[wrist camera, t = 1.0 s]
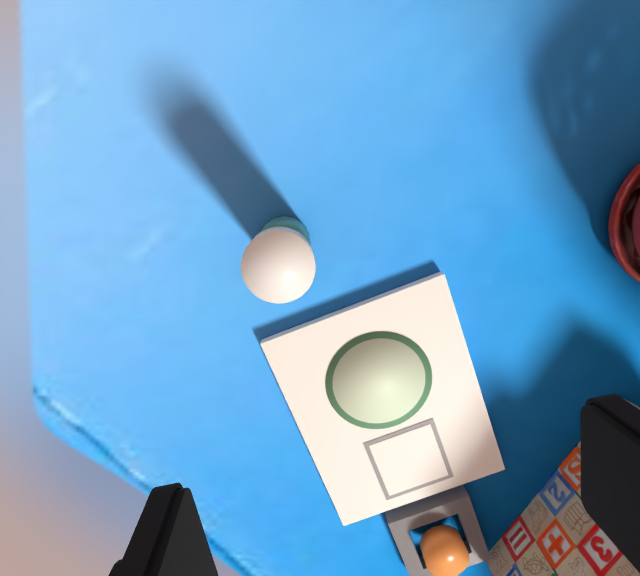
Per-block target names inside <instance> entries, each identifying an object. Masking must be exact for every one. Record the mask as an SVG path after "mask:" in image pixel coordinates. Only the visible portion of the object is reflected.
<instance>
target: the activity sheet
mask: <svg viewBox="0 0 640 576" xmlns="http://www.w3.org/2000/svg"><path fill="white" fill-rule="evenodd" d="M260 345H261V347H262V349H263V351H264V353H265V355H266V358H267V360H268V362H269V364H270V366H271V368H272V371H273V373H274V375H275V377H276V379H277V382H278V384H279V386H280V388H281V390H282V392H283V395H284V397H285V399H286V401H287V403H288V406H289V408H290V410H291V412H292V414H293V416H294V419H295V421H296V423H297V425H298V427H299V430H300V432H301V434H302V436H303V438H304V440H305V443H306V445H307V447H308V449H309V451H310V453H311V456H312V458H313V460H314V462H315V464H316V467H317V469H318V471H319V473H320V475H321V477H322V480H323V482H324V484H325V486H326V488H327V491H328V493H329V495H330V497H331V499H332V501H333V504H334V506H335V508H336V510H337V512H338V514H339V517H340V519H341V521H342V523H343V525H344V526H345V525H348V524H351V523H354V522H357V521H360V520H362V519H365V518H368V517H371V516H374V515H377V514H380V513H382V512H385V511H388V510H391V509H394V508H397V507H400V506H402V505H405V504H408V503H411V502H414V501H417V500H420V499H422V498H425V497H428V496H431V495H434V494H437V493H439V492H442V491H445V490H448V489H451V488H454V487H457V486H459V485H462V484H465V483H468V482H471V481H474V480H477V479H479V478H482V477H485V476H488V475H491V474H494V473H497V472H499V471H502V470H505V467H504V464H503V461H502V457H501V454H500V451H499V448H498V445H497V441H496V438H495V435H494V432H493V428H492V425H491V422H490V419H489V416H488V412H487V409H486V406H485V403H484V400H483V396H482V393H481V390H480V387H479V383H478V380H477V377H476V374H475V371H474V367H473V364H472V361H471V358H470V355H469V351H468V348H467V345H466V342H465V338H464V335H463V332H462V329H461V326H460V322H459V319H458V316H457V313H456V310H455V306H454V303H453V300H452V297H451V294H450V290H449V287H448V284H447V281H446V277H445V274H444V273H442V272H441V271H440V272H437V273H435V274H432V275H429V276H427V277H424V278H421V279H419V280H416V281H414V282H411V283H408V284H406V285H403V286H400V287H398V288H395V289H393V290H390V291H387V292H385V293H382V294H379V295H377V296H374V297H371V298H369V299H366V300H364V301H361V302H358V303H356V304H353V305H350V306H348V307H345V308H343V309H340V310H337V311H335V312H332V313H329V314H327V315H324V316H321V317H319V318H316V319H314V320H311V321H308V322H306V323H303V324H300V325H298V326H295V327H293V328H290V329H287V330H285V331H282V332H279V333H277V334H274V335H271V336H269V337H266V338H264V339H261V343H260Z"/></svg>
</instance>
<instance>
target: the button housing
mask: <svg viewBox="0 0 640 576" xmlns="http://www.w3.org/2000/svg"><path fill="white" fill-rule="evenodd" d="M456 514H457V515H458V518H459V521H460V523H461V526H462V529H463V532H464V534H465V537H466V540H464V541H463V542H464V544H465V547H466V549H467V551H468V553H469V563H468V565H467V567H469V566H472V565H475V564H478V563H481V562H484V561H487V560H490V559H491V557H490V555H489V552H488V549H487V546H486V543H485V540H484V537H483V534H482V532H481V529H480V526H479V523H478V520H477V517H476V514H475V511H474V508H473V506H472V503H471V500H470V497H469V495H468V493H467V491H466V489H465V487H464V485H460V486H457V487H455V488H452V489H449V490H446V491H443V492H440V493H437V494H435V495H432V496H429V497H426V498H423V499H420V500H417V501H415V502H412V503H409V504H406V505H403V506H400V507H397V508H395V509H392V510H389V511H386V512H385V515H386V519H387V523H388V526H389V528H390V530H391V533H392V535H393V538H394V540H395V542H396V545H397V547H398V549H399V552H400V554H401V556H402V559H403V561H404V564H405V566H406V568H407V571H408V573H409V575H410V576H434V575H433V574H431V573H430V572H429V571H428V569H427V567H426V563H425V560H424V557H423V555H420V556H419V554H418V551H417V549H416V546H415V544H414V542H413V539H412V537H411V534H410V532H409V531H410V530H412V529H415V528H418V527H421V526H424V525H427V524H430V523H433V522H436V521H438V520H441V519H444V518H447V517H450V516H453V515H456Z"/></svg>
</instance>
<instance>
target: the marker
mask: <svg viewBox="0 0 640 576" xmlns="http://www.w3.org/2000/svg"><path fill="white" fill-rule="evenodd" d="M241 272H242V277H243V279H244V282H245V284H246V286H247V287H248V288H249V290H250V291H251V292H252V293H253V294H254V295H256V296H257V297H258V298H260V299H262V300H264V301H267V302H271V303H287V302H291V301H293V300H295V299H297V298H299V297H301V296H302V295H303V294H304V293H305V292H306V291H307V290H308V289H309V287H310V286H311V284H312V282H313V279H314V276H315V260H314V254H313V250H312V248H311V244H310V238H309V234H308V231H307V229H306V227H305V226H304V225H303V224H302V223H301V222H300V221H299V220H297V219H295V218H293V217H289V216H279V217H275V218H273V219H271V220H270V221H268V222H267V223H266V224H265V226H264V227H263V228H262V230H261V231H260V233H259V234H257V235H256V236H255V237H254V238H253V240H252V241H251V242H250V244H249V245H248V246H247V248H246V249H245V251H244V254H243V257H242V261H241Z"/></svg>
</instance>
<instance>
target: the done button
mask: <svg viewBox="0 0 640 576" xmlns="http://www.w3.org/2000/svg"><path fill="white" fill-rule="evenodd" d="M420 548H421V551H422V554H423V557H424V560H425V563H426V567H427V569H428V571H429V572H430V573H431V574H433V575H434V576H456V575H458V574H460V573H461V572H462V571H464V570H465V568H466V567H467V565H468V563H469V553H468V551H467V549H466V547H465V544H464V542H463V540H462V538H461V535H460V533H459V532H458V531H457V530H456V529H455V528H454V527H451V526H448V525H438V526H434V527H432V528H430V529H428V530H427V531H426V532H425V533H424V534H423V535H422V537H421V540H420Z"/></svg>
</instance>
